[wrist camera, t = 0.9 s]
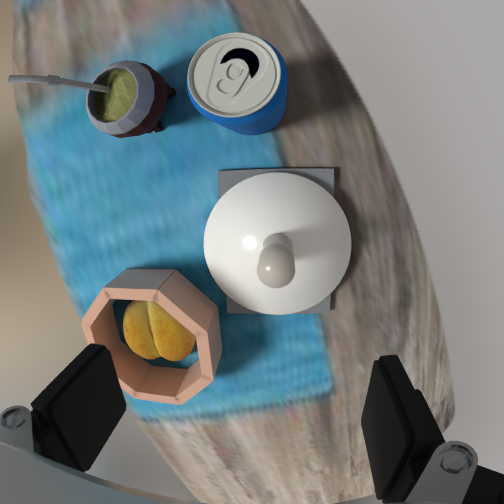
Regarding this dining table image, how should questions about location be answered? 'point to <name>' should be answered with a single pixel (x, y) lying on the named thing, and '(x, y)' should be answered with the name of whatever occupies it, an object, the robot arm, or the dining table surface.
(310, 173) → the mat
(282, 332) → the dining table surface
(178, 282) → the octagonal ring frame
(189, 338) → the bread roll
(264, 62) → the beverage can
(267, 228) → the lid
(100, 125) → the mate gourd
